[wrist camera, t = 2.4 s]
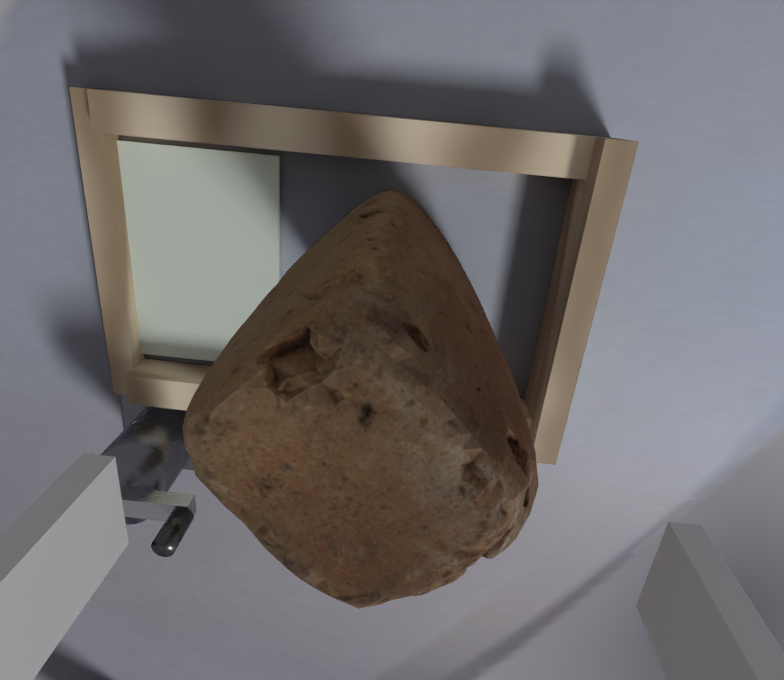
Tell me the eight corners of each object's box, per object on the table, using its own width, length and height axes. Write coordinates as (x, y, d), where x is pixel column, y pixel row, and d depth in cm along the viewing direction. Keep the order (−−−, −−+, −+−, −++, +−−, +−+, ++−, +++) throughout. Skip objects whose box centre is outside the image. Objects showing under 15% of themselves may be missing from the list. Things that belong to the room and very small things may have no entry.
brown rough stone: (298, 246, 31) (114, 441, 13) (401, 166, 29) (355, 263, 11) (407, 380, 34) (384, 691, 16) (507, 317, 32) (613, 592, 14)
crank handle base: (135, 456, 38) (35, 575, 28) (125, 382, 36) (12, 485, 26) (242, 468, 38) (179, 591, 28) (240, 395, 35) (169, 502, 26)
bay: (125, 382, 36) (91, 414, 32) (86, 87, 28) (35, 84, 25) (542, 427, 35) (555, 464, 31) (610, 137, 28) (638, 141, 24)
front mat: (143, 351, 35) (141, 353, 34) (119, 140, 29) (116, 140, 29) (280, 366, 34) (279, 368, 34) (280, 155, 29) (279, 156, 29)
